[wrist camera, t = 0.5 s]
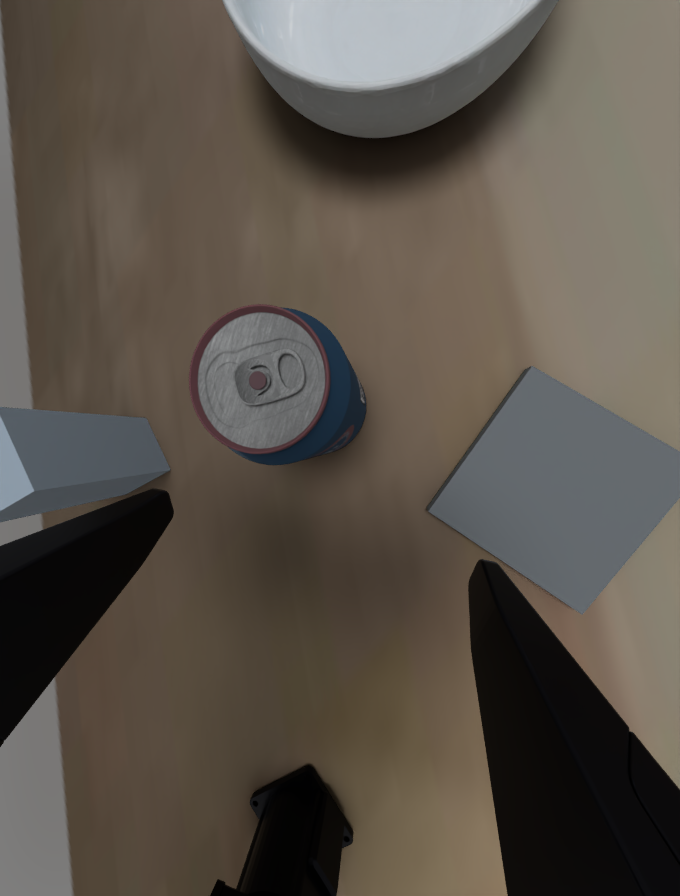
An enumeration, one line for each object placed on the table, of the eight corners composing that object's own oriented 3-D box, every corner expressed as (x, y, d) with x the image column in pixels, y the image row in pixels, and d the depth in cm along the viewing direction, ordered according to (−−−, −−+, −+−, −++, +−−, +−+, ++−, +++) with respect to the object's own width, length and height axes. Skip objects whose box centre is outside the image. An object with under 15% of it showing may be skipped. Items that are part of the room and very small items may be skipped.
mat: (573, 606, 21) (582, 614, 20) (426, 507, 22) (428, 511, 21) (689, 465, 19) (705, 466, 18) (525, 369, 21) (532, 365, 20)
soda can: (292, 462, 24) (199, 488, 12) (270, 378, 24) (155, 321, 12) (377, 440, 23) (366, 444, 11) (354, 352, 23) (318, 260, 11)
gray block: (170, 469, 26) (34, 491, 16) (126, 494, 26) (-31, 529, 17) (146, 418, 26) (-4, 406, 16) (102, 443, 27) (-67, 448, 17)
